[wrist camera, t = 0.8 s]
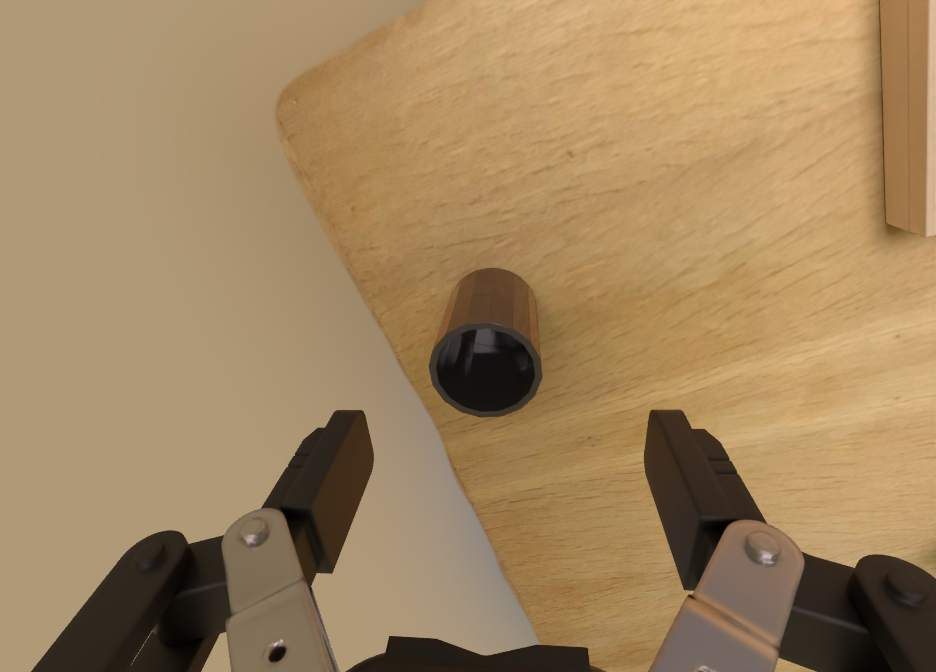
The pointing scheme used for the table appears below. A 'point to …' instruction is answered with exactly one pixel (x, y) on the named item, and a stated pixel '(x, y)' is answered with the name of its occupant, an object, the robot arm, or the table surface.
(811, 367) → the table surface
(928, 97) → the plate
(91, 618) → the robot arm
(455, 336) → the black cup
